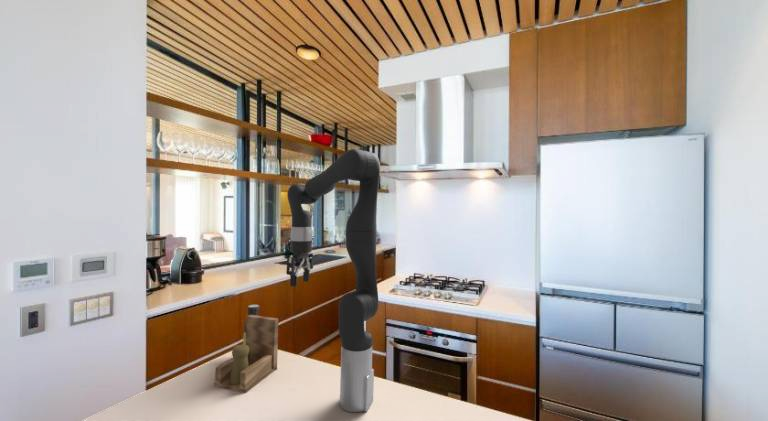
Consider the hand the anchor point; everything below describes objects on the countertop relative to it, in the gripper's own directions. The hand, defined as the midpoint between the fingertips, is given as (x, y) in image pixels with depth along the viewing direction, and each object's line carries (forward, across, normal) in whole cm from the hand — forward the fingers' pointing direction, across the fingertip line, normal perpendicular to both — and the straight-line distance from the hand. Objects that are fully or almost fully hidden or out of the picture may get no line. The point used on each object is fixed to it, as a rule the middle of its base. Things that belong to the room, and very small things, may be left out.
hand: (300, 283), depth 116 cm
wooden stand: (+30, -12, +12) cm, 35 cm away
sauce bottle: (+30, 0, +20) cm, 36 cm away
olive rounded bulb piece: (+29, -16, +12) cm, 35 cm away
